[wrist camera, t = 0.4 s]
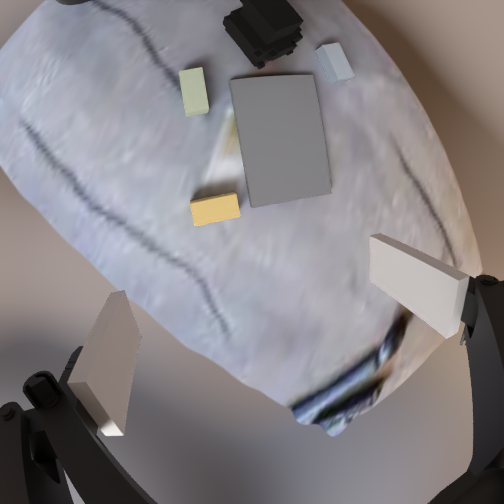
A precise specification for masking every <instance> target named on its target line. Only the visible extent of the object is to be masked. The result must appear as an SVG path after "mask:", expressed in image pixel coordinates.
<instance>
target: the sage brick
mask: <svg viewBox="0 0 504 504" xmlns="http://www.w3.org/2000/svg"><path fill="white" fill-rule="evenodd" d="M179 76H180V83H181V89H182V96H183V102H184V108H185V115H186V117H188V116H194V115H199V114H204V113H208V111H209V105H208V99H207V93H206V87H205V81H204V75H203V69H202V67H200V68H194V69H189V70H183V71H179Z"/></svg>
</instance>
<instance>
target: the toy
mask: <svg viewBox="0 0 504 504" xmlns="http://www.w3.org/2000/svg"><path fill="white" fill-rule="evenodd" d="M240 1H241V3H242V4H243V7H241V8H239V9H236V10H234V11H231V13H230V15H228V16H226V17H224V21H223V25H224V26H225V27H226V29H225V30H226V31H227V33H228V34H229V35H230V36H231V37H232V39H233V40H234V41H235V42H236V44H237V45H238V46H239V47H240V49H241V50H242V51H243V52H244V54H245V55H246V56H247V58H248V59H249V60H250V61H251V63H252V64H253V65H254V67H255V66H257V67H258V69H261V68H263V67H264V66H265V64H264V63H263V61H262V60H264V59H267V60H268V61H270V60H274V59H276V58H278V57H281V56H283V55H285V54H286V55H289V54H292V53H293V49H294V48H295V47H296V46H297V45H296V42H298V41H300V40H301V39H302V38H303V36H302V35H301V33H300V31H301V28H300V27H299V25H300V24H301V23H302V22H303V19H302V18H301V17H300V16H299V15H298V13H297V12H296V11H295V10H294V9H293V7H292V6H291V5H290V4H289V3H288V2H287V1H286V0H240Z"/></svg>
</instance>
